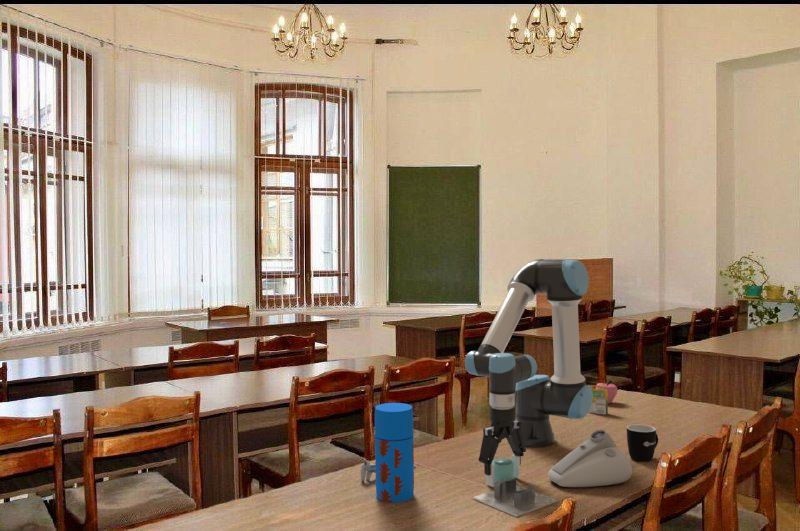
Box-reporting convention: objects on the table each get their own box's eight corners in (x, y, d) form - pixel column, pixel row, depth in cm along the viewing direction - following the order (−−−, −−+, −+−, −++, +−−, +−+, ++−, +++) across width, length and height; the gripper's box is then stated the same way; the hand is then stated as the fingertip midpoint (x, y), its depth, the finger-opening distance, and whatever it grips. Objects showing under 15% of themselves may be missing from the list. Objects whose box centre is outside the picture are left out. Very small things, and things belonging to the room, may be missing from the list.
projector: (560, 464, 216) (559, 418, 216) (635, 473, 207) (635, 425, 206) (544, 487, 196) (544, 437, 196) (627, 498, 187) (627, 446, 186)
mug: (642, 465, 214) (642, 433, 213) (620, 457, 222) (620, 426, 221) (668, 458, 220) (668, 427, 219) (646, 451, 227) (646, 421, 227)
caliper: (363, 483, 202) (362, 462, 202) (360, 482, 203) (360, 461, 203) (415, 468, 215) (415, 448, 214) (413, 467, 215) (413, 448, 215)
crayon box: (608, 413, 278) (607, 385, 278) (606, 415, 276) (605, 386, 275) (590, 411, 282) (590, 383, 282) (588, 412, 279) (588, 384, 279)
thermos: (392, 485, 199) (391, 400, 198) (421, 494, 192) (420, 406, 191) (367, 496, 190) (366, 408, 190) (397, 505, 184) (396, 414, 183)
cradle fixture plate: (473, 499, 188) (473, 484, 188) (513, 485, 197) (513, 471, 197) (516, 517, 175) (516, 501, 175) (556, 501, 185) (556, 487, 185)
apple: (604, 399, 302) (604, 377, 302) (621, 403, 295) (621, 380, 295) (591, 403, 296) (591, 380, 295) (609, 406, 289) (609, 383, 289)
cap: (487, 481, 201) (487, 460, 201) (502, 476, 205) (502, 456, 205) (503, 487, 196) (503, 466, 196) (518, 482, 200) (518, 461, 200)
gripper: (483, 415, 190) (484, 494, 191) (538, 402, 204) (538, 476, 204) (465, 410, 196) (466, 486, 197) (519, 398, 210) (519, 469, 210)
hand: (503, 481), depth 201 cm, fingers open, 10 cm apart
